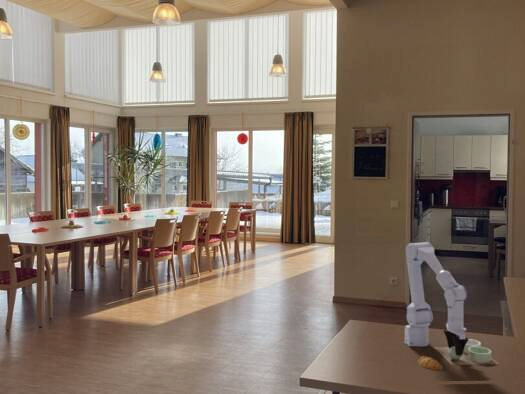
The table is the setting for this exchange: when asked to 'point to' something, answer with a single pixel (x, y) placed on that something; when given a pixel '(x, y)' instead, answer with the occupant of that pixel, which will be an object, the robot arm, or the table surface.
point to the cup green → (479, 354)
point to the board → (462, 360)
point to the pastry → (429, 363)
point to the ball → (453, 353)
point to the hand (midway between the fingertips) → (455, 351)
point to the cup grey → (471, 345)
